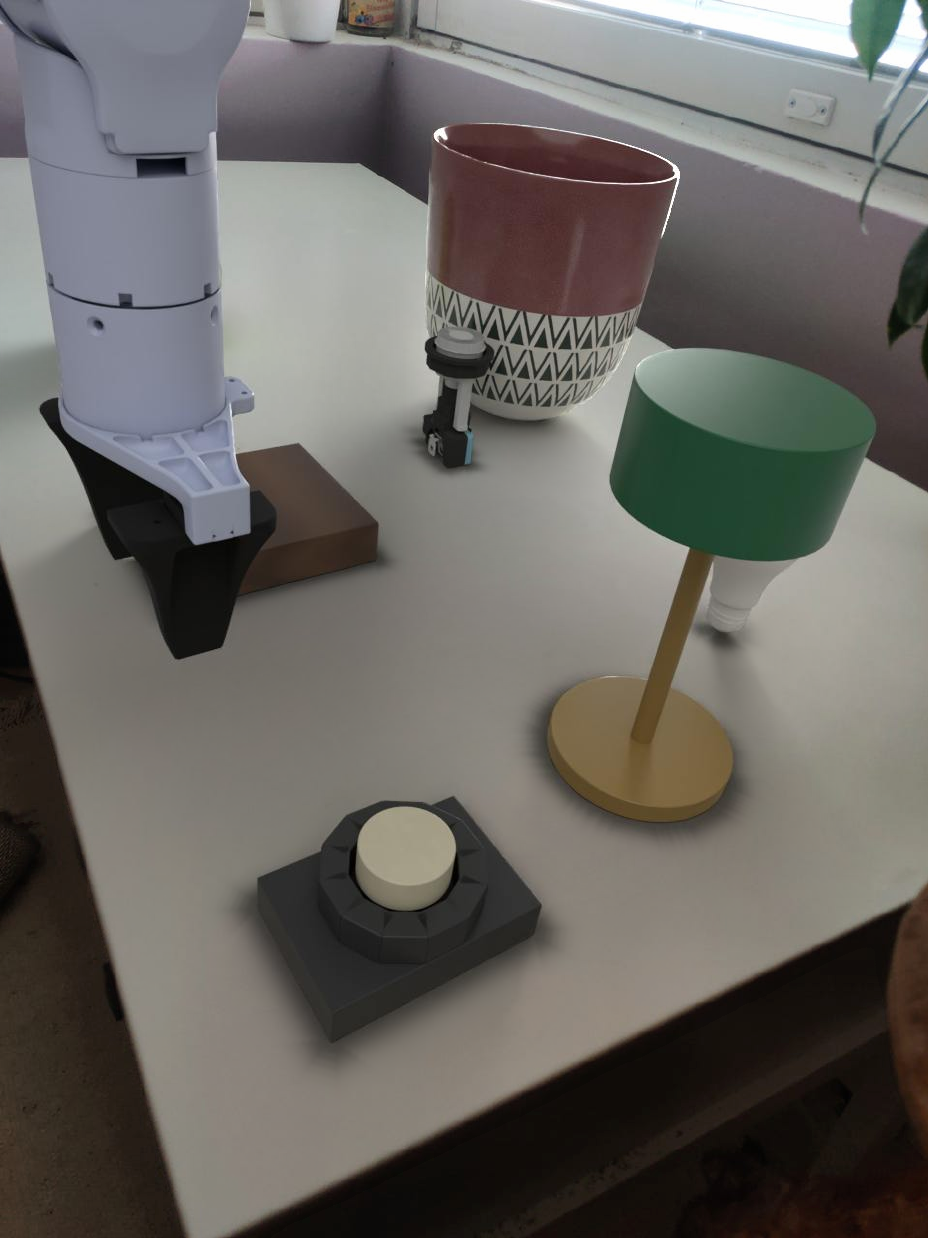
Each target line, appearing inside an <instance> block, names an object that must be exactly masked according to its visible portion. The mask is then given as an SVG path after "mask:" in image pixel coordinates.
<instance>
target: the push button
mask: <svg viewBox="0 0 928 1238" xmlns="http://www.w3.org/2000/svg"><path fill="white" fill-rule="evenodd" d="M484 340H485V337H484V336H483V335H482V333H480V332H478V331H476V330H474V329H470V328H466V327H457V326H450V327H445V328H441V329H440V330H439V332H438V336H434V337H431V338H429V337H428V339H427V340H425V342H424V352H425V353H426V361H425V364H426V366H427V367H428V369H429V370H430V371H433V372H435V375H437V376H439V379H438V380H439V381H438V390H437V398H436V405H435V409H433V410H432V411H431V412H432V413H426V414H424V415H422V416H421V419H422V425H421V426H420V429H421V430H422V433H423V435H424V437H425V438H424V441H425V444H426V445H427V451H428V453H429V455H431V456H432V457H435V456H436V455H437V456H438V457H439V458H440V459H441V463H442V465H443V466H444V467H445V468H454V467H459V466H466V465H471V462H472V452H473V446H474V445H473V444H474V435H473V433H472V432H473V429H472V428H471V419H472V413H471V412H470V407H471V403H470V399H471V392H472V384H473V382H474V381H475V380H476V379H477V378H479V377H482V376H485V374H486V372H487V371H488V369H489V364H490V362H491V361H492V360H493V358H494V349H493V348H492V347H491V346H490V345H489V344H487V343H485V342H484Z"/></svg>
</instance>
